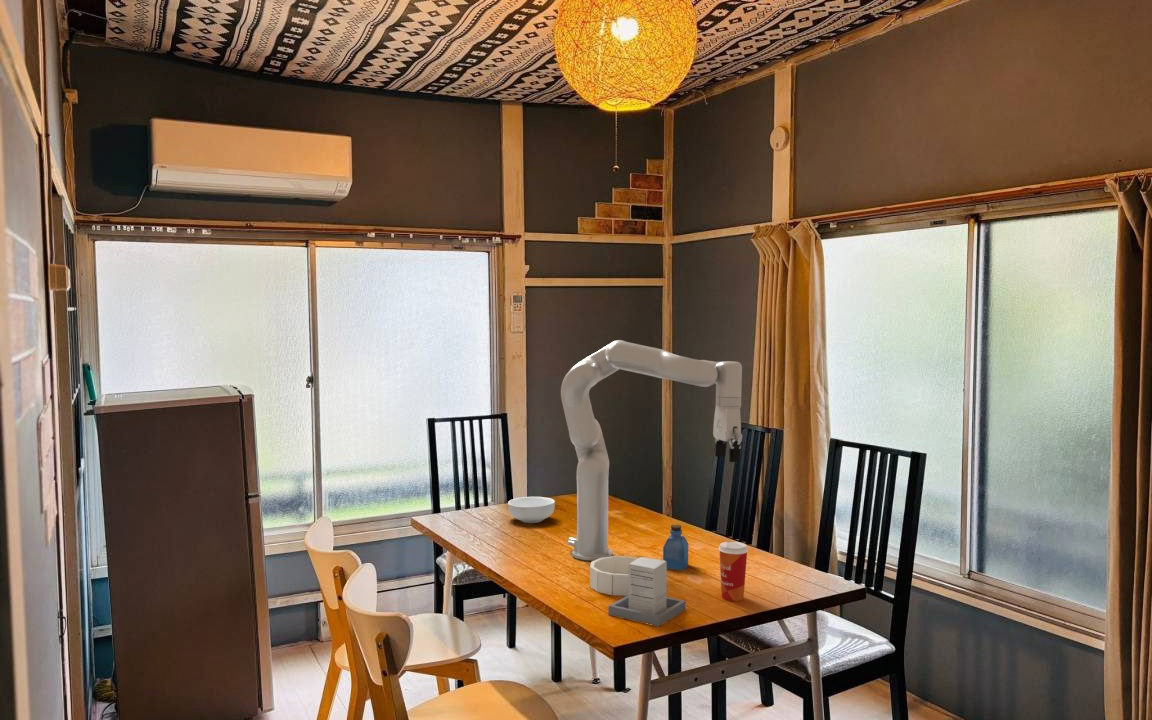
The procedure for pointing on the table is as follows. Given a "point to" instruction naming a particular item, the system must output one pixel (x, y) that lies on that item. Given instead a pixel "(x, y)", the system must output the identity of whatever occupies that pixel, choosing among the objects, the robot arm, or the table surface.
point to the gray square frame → (621, 611)
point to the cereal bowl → (531, 508)
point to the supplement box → (648, 585)
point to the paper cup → (733, 570)
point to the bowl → (611, 575)
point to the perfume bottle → (676, 549)
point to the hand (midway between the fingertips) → (727, 459)
